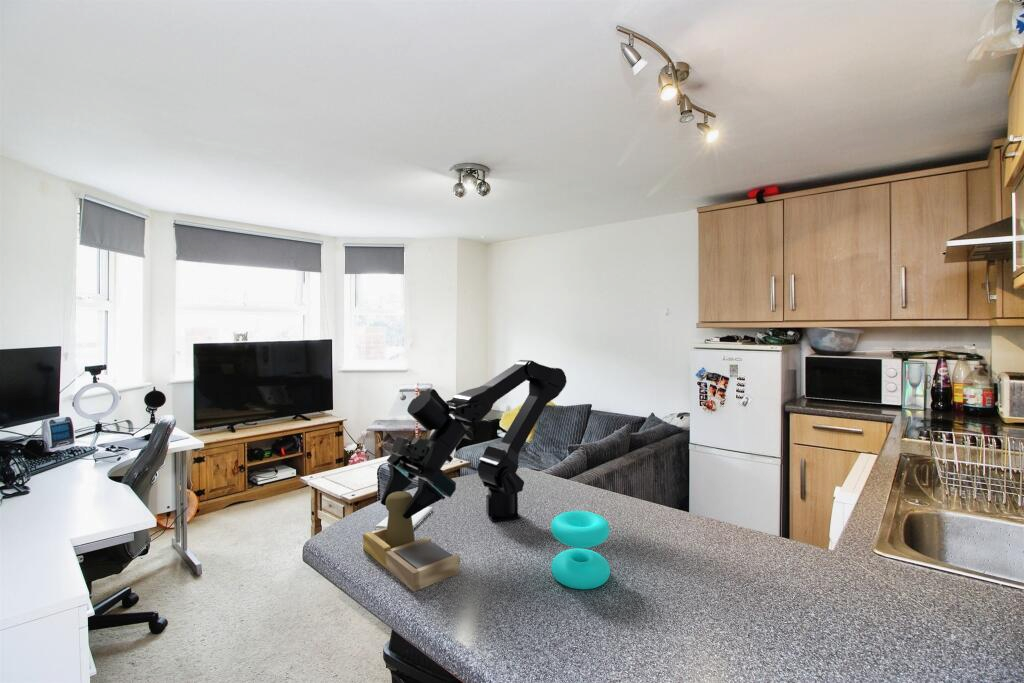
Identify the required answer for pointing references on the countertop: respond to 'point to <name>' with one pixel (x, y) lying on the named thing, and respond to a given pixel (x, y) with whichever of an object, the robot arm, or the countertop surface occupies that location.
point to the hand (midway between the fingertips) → (392, 510)
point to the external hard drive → (415, 518)
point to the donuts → (580, 549)
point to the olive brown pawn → (398, 520)
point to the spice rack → (412, 559)
